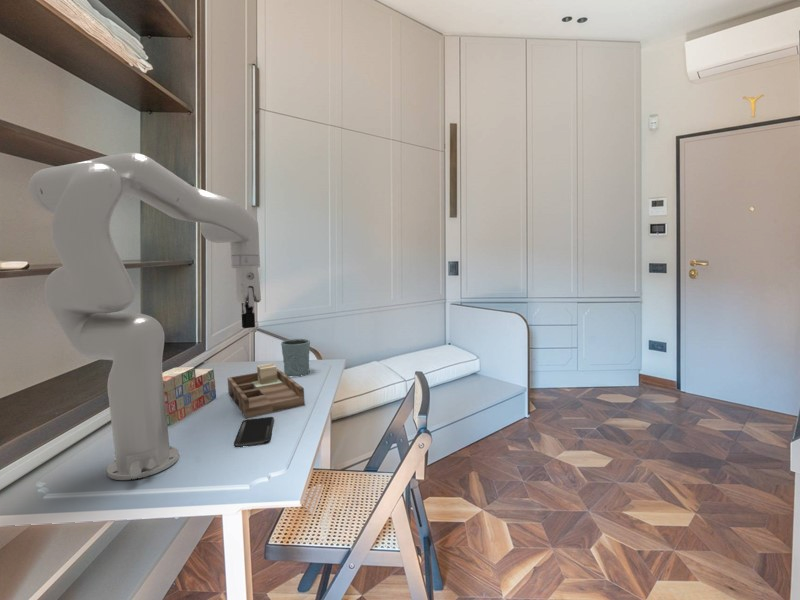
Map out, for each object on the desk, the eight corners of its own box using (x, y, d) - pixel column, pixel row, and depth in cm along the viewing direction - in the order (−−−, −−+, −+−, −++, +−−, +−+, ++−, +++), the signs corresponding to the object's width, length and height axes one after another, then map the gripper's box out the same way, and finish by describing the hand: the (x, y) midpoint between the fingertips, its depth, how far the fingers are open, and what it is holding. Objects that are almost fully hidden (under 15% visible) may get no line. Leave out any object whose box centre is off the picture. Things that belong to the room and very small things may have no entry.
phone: (232, 445, 92) (242, 419, 107) (233, 449, 92) (243, 424, 107) (269, 440, 94) (274, 416, 109) (270, 445, 94) (274, 420, 109)
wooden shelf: (304, 405, 118) (303, 388, 118) (246, 418, 110) (244, 400, 109) (279, 383, 140) (278, 369, 140) (228, 393, 132) (227, 377, 131)
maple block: (277, 381, 134) (276, 366, 133) (261, 384, 131) (260, 369, 131) (273, 378, 138) (272, 363, 137) (257, 380, 135) (256, 365, 135)
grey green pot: (288, 370, 157) (286, 339, 156) (314, 369, 156) (312, 338, 155) (279, 378, 147) (277, 344, 146) (307, 377, 146) (305, 343, 145)
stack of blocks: (197, 398, 128) (194, 359, 127) (216, 398, 128) (213, 359, 126) (148, 426, 107) (143, 379, 106) (170, 426, 107) (166, 379, 105)
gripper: (266, 261, 112) (268, 329, 113) (253, 263, 125) (256, 324, 126) (236, 261, 108) (239, 331, 109) (226, 263, 121) (229, 326, 122)
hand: (248, 327), depth 117 cm, fingers closed
